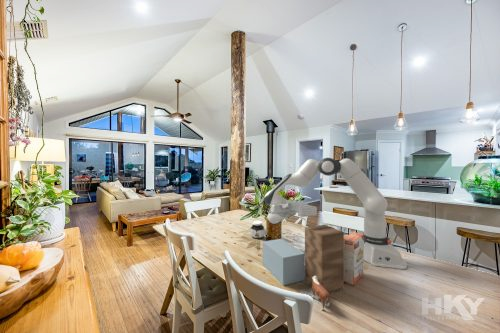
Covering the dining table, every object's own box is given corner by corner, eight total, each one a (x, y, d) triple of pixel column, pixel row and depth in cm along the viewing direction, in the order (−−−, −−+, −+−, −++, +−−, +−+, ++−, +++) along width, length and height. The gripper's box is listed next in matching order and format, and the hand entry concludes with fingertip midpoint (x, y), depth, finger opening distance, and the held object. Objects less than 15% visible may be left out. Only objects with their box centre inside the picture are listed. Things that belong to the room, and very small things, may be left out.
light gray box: (278, 207, 124) (278, 201, 124) (292, 206, 128) (292, 199, 127) (301, 217, 104) (301, 208, 104) (316, 215, 107) (316, 207, 107)
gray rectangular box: (262, 264, 121) (262, 241, 121) (281, 260, 126) (281, 238, 125) (283, 285, 101) (283, 257, 100) (304, 280, 105) (304, 253, 105)
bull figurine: (317, 291, 96) (317, 273, 96) (332, 312, 83) (332, 291, 83) (307, 292, 96) (307, 273, 95) (321, 313, 82) (321, 292, 82)
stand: (305, 281, 104) (304, 227, 103) (324, 276, 109) (324, 224, 108) (322, 295, 93) (322, 235, 92) (343, 289, 97) (343, 231, 97)
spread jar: (249, 238, 164) (249, 222, 163) (256, 233, 174) (255, 219, 173) (263, 240, 158) (263, 224, 158) (269, 235, 168) (269, 220, 168)
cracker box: (354, 286, 100) (355, 241, 99) (341, 281, 104) (341, 238, 103) (364, 274, 110) (364, 233, 109) (352, 270, 114) (352, 231, 113)
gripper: (265, 208, 132) (275, 200, 121) (294, 205, 140) (305, 197, 128) (268, 218, 129) (278, 211, 118) (297, 214, 137) (309, 207, 126)
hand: (292, 203), depth 123 cm, fingers closed on light gray box, 4 cm apart
